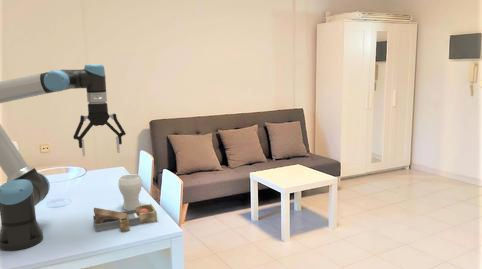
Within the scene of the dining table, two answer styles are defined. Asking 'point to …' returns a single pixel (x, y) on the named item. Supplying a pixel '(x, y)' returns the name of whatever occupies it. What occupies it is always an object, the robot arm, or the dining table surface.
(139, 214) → the ball
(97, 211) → the ramp
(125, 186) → the cup
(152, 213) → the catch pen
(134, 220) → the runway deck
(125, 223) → the hollow wooden block
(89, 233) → the dining table surface
